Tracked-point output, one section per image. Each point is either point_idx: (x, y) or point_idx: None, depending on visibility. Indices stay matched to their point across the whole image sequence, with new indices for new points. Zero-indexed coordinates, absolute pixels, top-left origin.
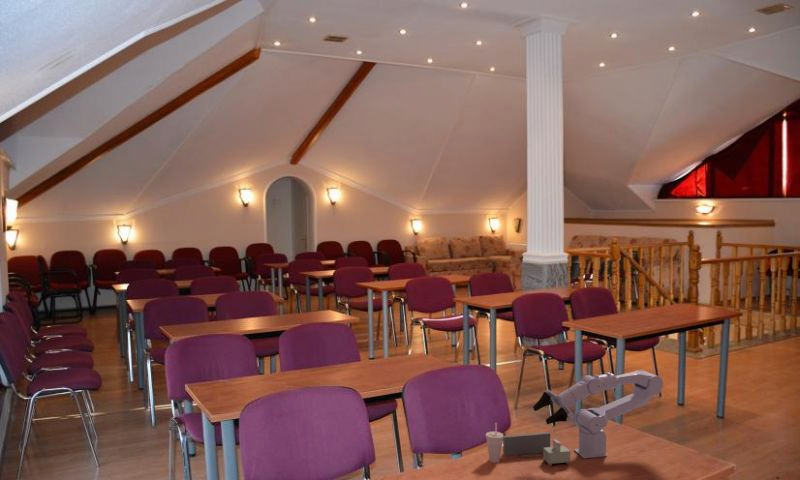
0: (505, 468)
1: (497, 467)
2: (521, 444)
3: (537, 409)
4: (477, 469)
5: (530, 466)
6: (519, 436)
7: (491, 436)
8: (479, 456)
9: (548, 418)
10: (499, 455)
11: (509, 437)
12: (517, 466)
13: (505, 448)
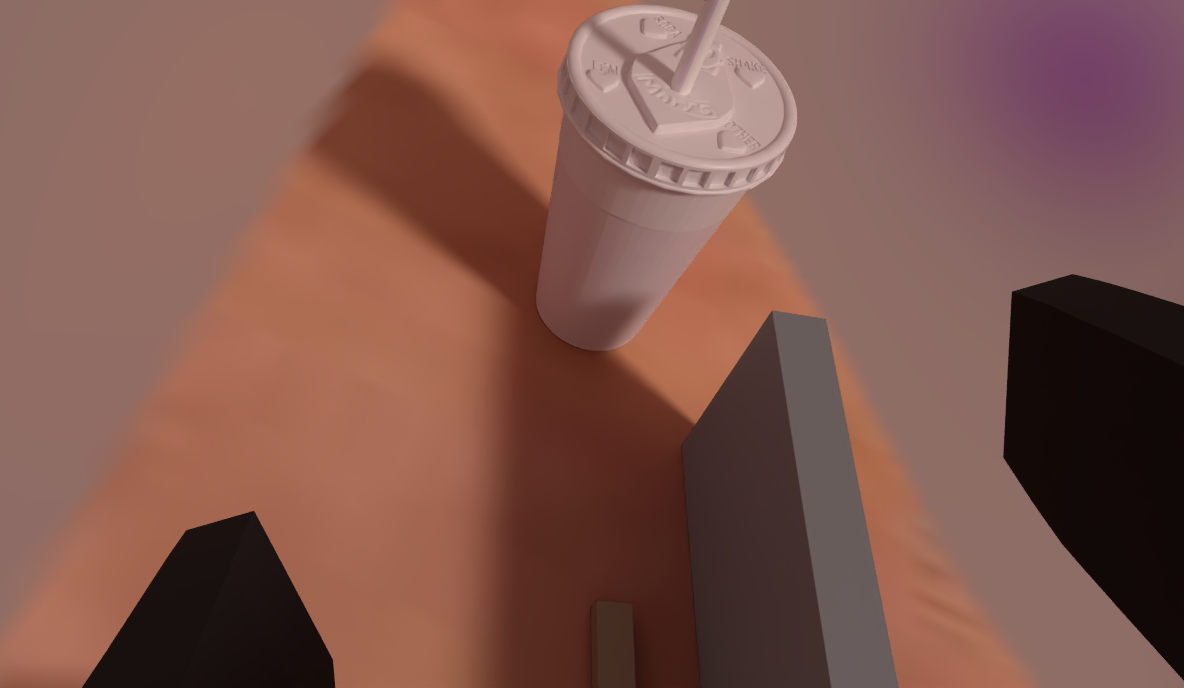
0: (360, 309)
1: (413, 256)
2: (753, 606)
3: (1071, 524)
4: (432, 106)
5: (298, 593)
6: (802, 518)
7: (634, 34)
8: None
9: (184, 582)
10: (558, 285)
11: (778, 373)
12: (362, 444)
13: (715, 407)
